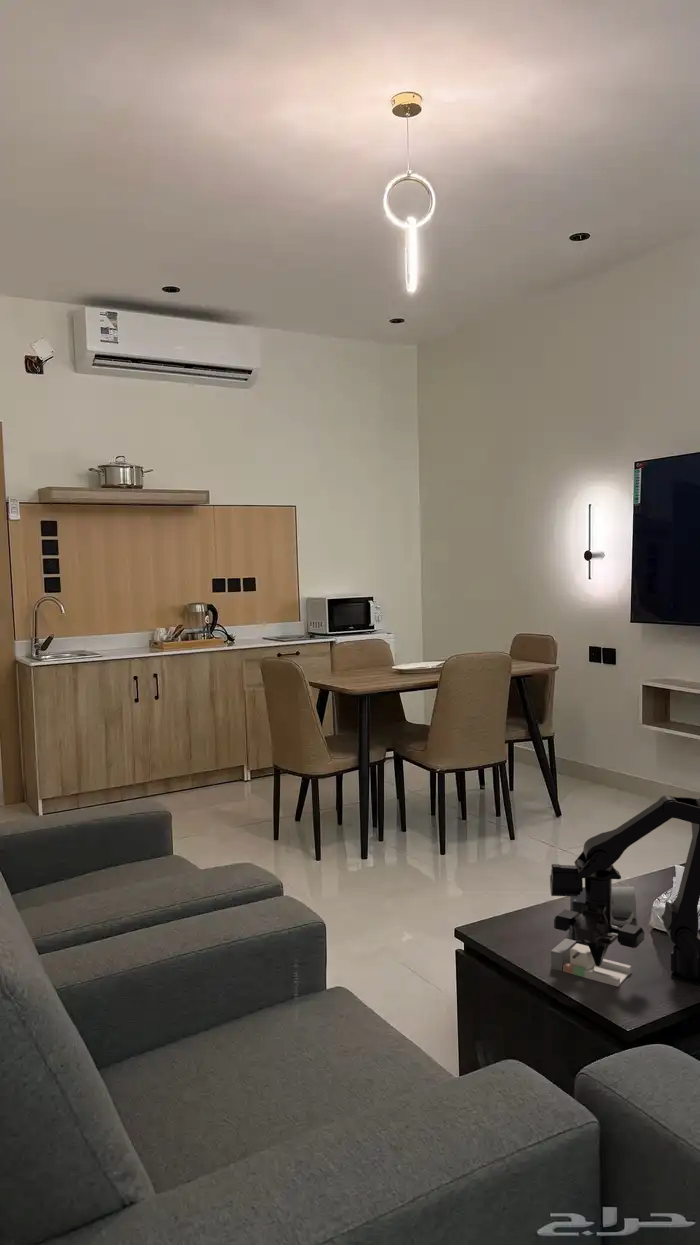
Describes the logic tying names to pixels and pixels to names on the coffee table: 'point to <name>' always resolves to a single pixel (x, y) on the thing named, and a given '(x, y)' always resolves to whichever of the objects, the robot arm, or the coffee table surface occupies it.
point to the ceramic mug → (623, 904)
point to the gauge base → (603, 973)
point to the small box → (577, 907)
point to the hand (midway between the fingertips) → (598, 965)
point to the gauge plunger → (581, 956)
